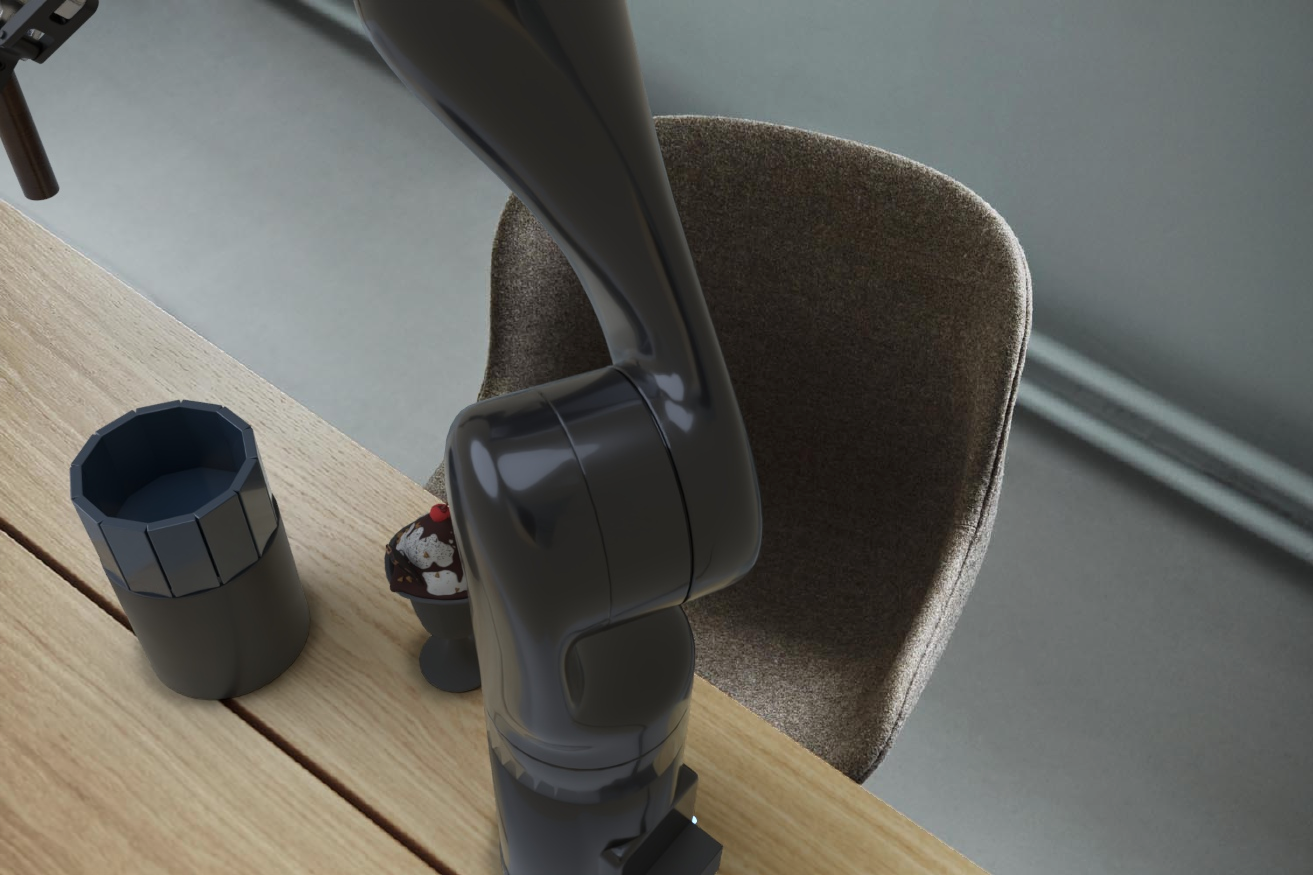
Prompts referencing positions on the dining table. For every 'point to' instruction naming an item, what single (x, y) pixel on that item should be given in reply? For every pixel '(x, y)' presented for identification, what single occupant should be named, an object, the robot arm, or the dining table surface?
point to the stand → (225, 627)
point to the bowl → (174, 497)
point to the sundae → (436, 598)
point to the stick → (25, 144)
